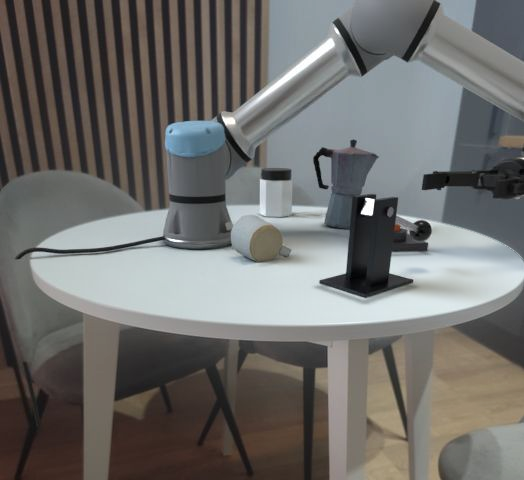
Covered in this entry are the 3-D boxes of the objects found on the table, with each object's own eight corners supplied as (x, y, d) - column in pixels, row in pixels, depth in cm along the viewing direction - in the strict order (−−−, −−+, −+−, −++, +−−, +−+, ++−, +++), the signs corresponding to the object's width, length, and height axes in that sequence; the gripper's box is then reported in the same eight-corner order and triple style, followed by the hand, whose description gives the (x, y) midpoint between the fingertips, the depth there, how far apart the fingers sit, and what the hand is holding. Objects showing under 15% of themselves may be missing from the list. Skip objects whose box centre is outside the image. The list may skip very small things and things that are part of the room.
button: (385, 233, 99) (386, 224, 98) (378, 230, 102) (379, 221, 101) (402, 233, 99) (403, 224, 99) (395, 229, 103) (396, 221, 102)
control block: (369, 256, 97) (371, 235, 95) (352, 244, 106) (354, 225, 104) (426, 254, 99) (429, 233, 97) (405, 242, 108) (407, 224, 106)
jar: (273, 211, 144) (274, 167, 139) (296, 214, 139) (298, 169, 134) (253, 215, 137) (254, 169, 132) (277, 218, 133) (278, 171, 128)
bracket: (367, 274, 85) (376, 190, 79) (412, 286, 79) (425, 196, 73) (319, 287, 78) (324, 196, 72) (363, 302, 72) (374, 204, 66)
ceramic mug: (250, 266, 88) (251, 223, 85) (229, 256, 95) (229, 215, 92) (299, 260, 93) (302, 219, 90) (277, 251, 100) (278, 212, 96)
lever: (413, 242, 86) (420, 221, 85) (431, 245, 84) (438, 224, 83) (355, 217, 74) (362, 193, 73) (374, 220, 72) (382, 195, 71)
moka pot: (375, 230, 120) (384, 140, 111) (311, 229, 120) (316, 139, 112) (368, 223, 128) (376, 139, 120) (308, 222, 129) (312, 138, 120)
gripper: (578, 205, 91) (526, 217, 79) (454, 191, 109) (396, 200, 96) (589, 161, 88) (537, 167, 76) (460, 154, 106) (400, 158, 93)
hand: (458, 185), depth 86 cm, fingers open, 13 cm apart
